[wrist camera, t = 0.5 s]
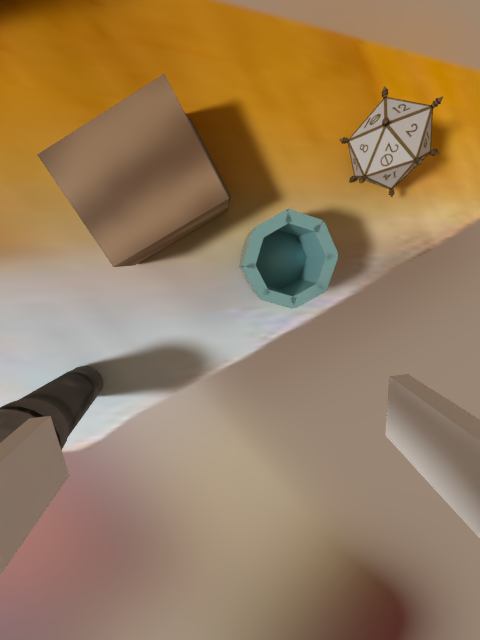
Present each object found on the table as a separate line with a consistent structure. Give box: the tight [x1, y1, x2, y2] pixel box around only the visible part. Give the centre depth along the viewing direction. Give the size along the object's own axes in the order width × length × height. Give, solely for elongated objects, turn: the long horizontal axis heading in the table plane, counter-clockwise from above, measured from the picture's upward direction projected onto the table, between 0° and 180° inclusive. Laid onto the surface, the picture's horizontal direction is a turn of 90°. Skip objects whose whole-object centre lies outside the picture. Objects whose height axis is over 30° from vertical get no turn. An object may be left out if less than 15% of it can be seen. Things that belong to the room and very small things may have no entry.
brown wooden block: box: [38, 74, 229, 267], centre depth 26 cm, size 11×13×6 cm
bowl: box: [239, 209, 339, 308], centre depth 28 cm, size 9×9×7 cm
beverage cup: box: [0, 367, 103, 450], centre depth 24 cm, size 7×7×20 cm
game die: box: [340, 86, 443, 197], centre depth 26 cm, size 9×8×10 cm
